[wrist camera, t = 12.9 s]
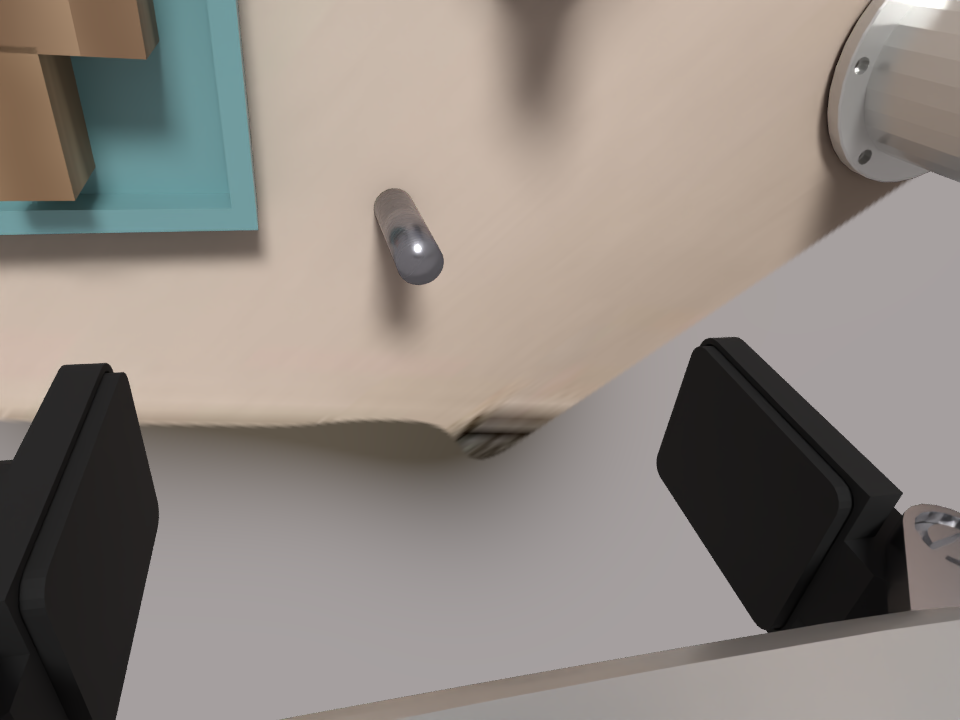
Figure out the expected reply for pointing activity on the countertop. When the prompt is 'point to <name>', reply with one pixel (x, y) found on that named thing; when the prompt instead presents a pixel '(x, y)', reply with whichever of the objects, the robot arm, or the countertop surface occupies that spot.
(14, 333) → the countertop surface
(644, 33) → the countertop surface
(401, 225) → the grey metallic cylinder
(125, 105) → the tray
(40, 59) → the wooden frame with stub
